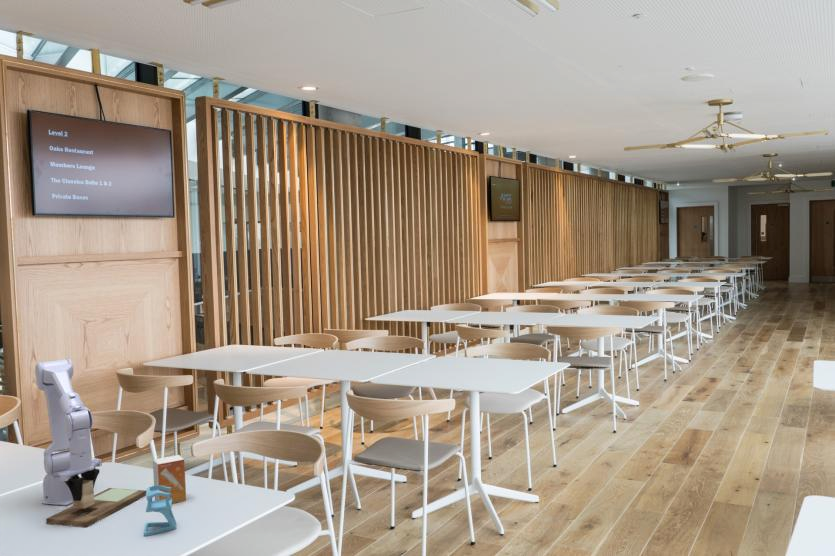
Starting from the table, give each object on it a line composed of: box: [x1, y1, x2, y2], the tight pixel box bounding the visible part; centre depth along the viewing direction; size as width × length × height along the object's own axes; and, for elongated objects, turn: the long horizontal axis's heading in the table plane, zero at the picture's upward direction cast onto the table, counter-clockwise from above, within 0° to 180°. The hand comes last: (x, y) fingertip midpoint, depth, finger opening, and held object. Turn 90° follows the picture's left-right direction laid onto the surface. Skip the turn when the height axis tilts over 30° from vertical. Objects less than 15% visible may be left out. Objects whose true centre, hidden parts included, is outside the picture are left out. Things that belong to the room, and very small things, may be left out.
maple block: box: [72, 480, 95, 509], centre depth 210 cm, size 4×4×7 cm
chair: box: [143, 485, 177, 537], centre depth 198 cm, size 8×8×12 cm
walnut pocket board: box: [45, 487, 146, 528], centre depth 216 cm, size 14×26×2 cm, turn 164°
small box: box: [152, 454, 187, 504], centre depth 220 cm, size 8×6×13 cm
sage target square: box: [94, 488, 140, 503], centre depth 223 cm, size 10×10×1 cm
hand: (83, 497), depth 210 cm, fingers closed on maple block, 4 cm apart
